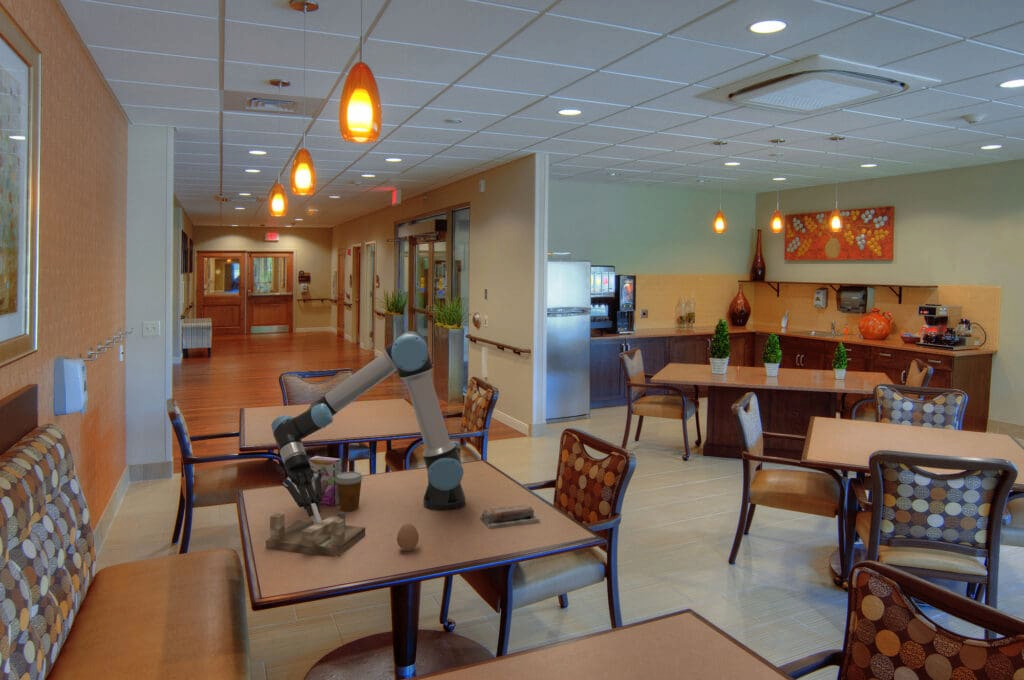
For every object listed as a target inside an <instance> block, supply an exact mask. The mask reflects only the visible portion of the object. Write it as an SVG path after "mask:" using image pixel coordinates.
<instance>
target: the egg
mask: <svg viewBox="0 0 1024 680" xmlns="http://www.w3.org/2000/svg"><path fill="white" fill-rule="evenodd" d="M396 537H397V538H396V540H397V545H398V546H399V548H400V549H401V550H403V551H405V552H411V551H412V550H415V548H416V547H417V546H418V544H419V540H420V536H419V532H418V530H417V528H416V526H414V525H413V524H411V523H405V524H403V525H401V527H400V529H399V530H398V532H397V535H396Z"/></svg>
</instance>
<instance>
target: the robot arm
mask: <svg viewBox="0 0 1024 680" xmlns="http://www.w3.org/2000/svg"><path fill="white" fill-rule="evenodd" d="M433 369H434V365H433V362H432V358H431V356H430V352H429V347H428V343H427V340H426V338H425V337H424V336H423V335H422V334H421V333H419V332H418V331H417V332H416V331H414V330H413V331H412V330H410V331H409V330H407V331H404V332H403V333H401V334H399V335H398V336H397V337H396V338H395V340H394V341H392V342H391V343H390V344H388V346H386V347H384V349H383V353H381V354H380V355H379V356H377V357H376V358H375V359H373V360H372V361H370V362H369V363H368V364H366V365H365V366H364V367H362V368H361V369H359V370H358V371H356V372H354V373H353V374H352V375H351V376H350V377H348V378H347V379H345V380H344V381H342V382H341V383H340V384H338V385H337V386H336V387H334V388H333V389H331V390H330V391H328V392H327V393H326V394H325V395H323V396H321V397H320V398H319V399H317V400H314V402H312V403H311V404H310V405H309V407H308V408H307V410H305V411H304V412H302V413H301V414H299V415H297V416H295V417H293V416H291V415H289V414H284V415H281V416H278V417H277V418H275V419H273V421H272V422H271V430H272V434H273V438H274V441H275V443H276V446H277V448H278V452H279V454H280V457H281V459H282V463H283V465H284V468H285V471H286V473H287V478H285V479H284V480H283V482H282V486H283V487H284V488H285V489H286V490H287V491H288V492H289V495H290V496H291V497H292V498H293V500H294V502H295V503H296V505H297V506H298V507H299V508H303V509H304V510H306V513H307V515H308V517H311V519H312V522H314V525H315V524H317V523H319V522H321V521H323V520H322V517H321V516H320V514H321V513H322V511H321V510H322V509H321V507H320V504H319V503H320V502H321V501H322V499H323V497H322V487H321V477H322V473H319V474H317V473H314V471H313V470H312V469H311V466H310V463H309V460H308V459H309V458H308V455H307V453H306V449H305V447H304V444H303V442H302V439H305V438H306V437H308V436H310V435H312V434H314V433H316V432H318V431H320V430H322V429H324V428H326V427H327V426H329V425H330V424H332V423H333V422H334V417H333V416H335V415H336V414H337V413H339V412H341V410H343V409H344V408H346V407H348V406H349V405H350V404H351V403H353V402H354V401H355V400H357V399H358V398H360V397H361V396H363V395H364V394H366V393H367V392H368V391H370V390H371V389H372V388H374V387H375V386H376V385H378V384H379V383H381V382H382V381H383V380H385V379H387V378H388V377H389V376H391V375H392V374H394V373H395V372H396V371H397V374H398V376H399V379H400V380H402V381H404V382H405V384H406V389H407V390H408V394H409V397H410V400H411V405H412V408H413V411H414V414H415V418H416V421H417V424H418V428H419V432H420V433H421V434H420V435H421V437H422V441H423V444H424V450H423V452H422V458H423V460H424V464H425V467H426V470H427V479H428V481H427V485H426V489H425V493H424V494H423V499H422V501H423V503H422V504H423V507H425V508H426V509H429V510H434V511H452V510H453V511H454V510H458V509H460V508H463V507H464V506H465V505H466V495H465V493H464V489H463V487H462V483H461V482H462V481H463V476H464V468H463V464H462V458H461V450H462V447H461V443H460V441H457V440H450V436H449V433H448V430H447V426H446V423H445V420H444V416H443V412H442V410H441V406H440V403H439V402H440V401H439V399H438V396H437V391H436V388H435V385H434V381H433V378H432V376H431V374H432V371H433ZM312 477H314V481H315V491H316V494H315V491H314V488H313V486H312V481H311V480H312ZM309 498H310V499H309ZM310 501H311V502H310Z"/></svg>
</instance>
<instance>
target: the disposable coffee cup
mask: <svg viewBox="0 0 1024 680" xmlns="http://www.w3.org/2000/svg"><path fill="white" fill-rule="evenodd" d="M363 477H364V476H362V473H361V472H358V471H344V472H342V473H339V474H337V476H336V478H335V481H336V483H337V489H338V496H339V509H340V510H341V511H344V510H346V511H345V512H349V511H348V510H352V511H355V509H356V510H358V509H359V506H360V505H359V504H360V495H361V487H362V481H363ZM357 508H358V509H357Z"/></svg>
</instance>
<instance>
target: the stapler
mask: <svg viewBox="0 0 1024 680" xmlns="http://www.w3.org/2000/svg"><path fill="white" fill-rule="evenodd" d="M534 511H535V510H534V508H532V506H529V505H525V504H524V505H515V506H505V507H503V506H502V507H495V508H494V507H493V508H486V509H484V510H483V513H482V514H481V516H480V517H479V519H480V520H481V521H482V522H483V524H484V525H485V526H486V527H487V528H488V529H497V528H505V527H506V528H507V527H514V526H515V527H516V526H523V525H530V524H531V525H532V524H538V523H540V518H539V517H537V516H536V515H534V513H535V512H534Z"/></svg>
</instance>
